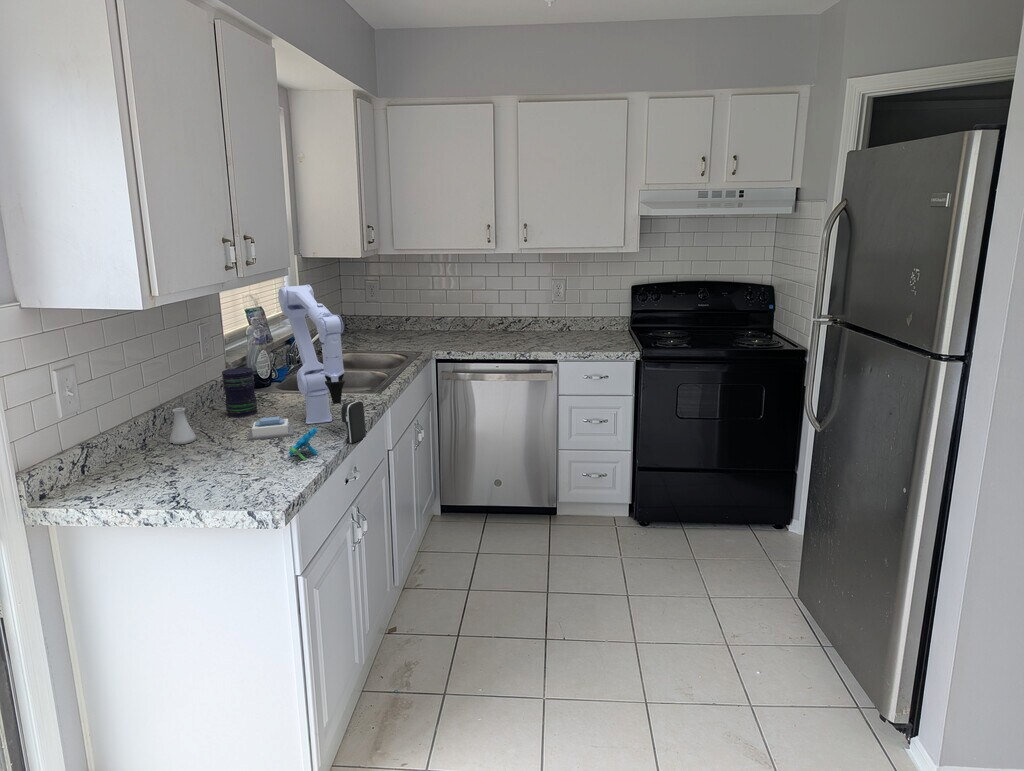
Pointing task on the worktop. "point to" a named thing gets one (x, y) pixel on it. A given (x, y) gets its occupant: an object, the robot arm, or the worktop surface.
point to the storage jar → (239, 392)
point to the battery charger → (354, 420)
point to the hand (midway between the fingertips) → (336, 400)
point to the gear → (304, 444)
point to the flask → (181, 428)
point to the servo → (270, 421)
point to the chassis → (271, 431)
